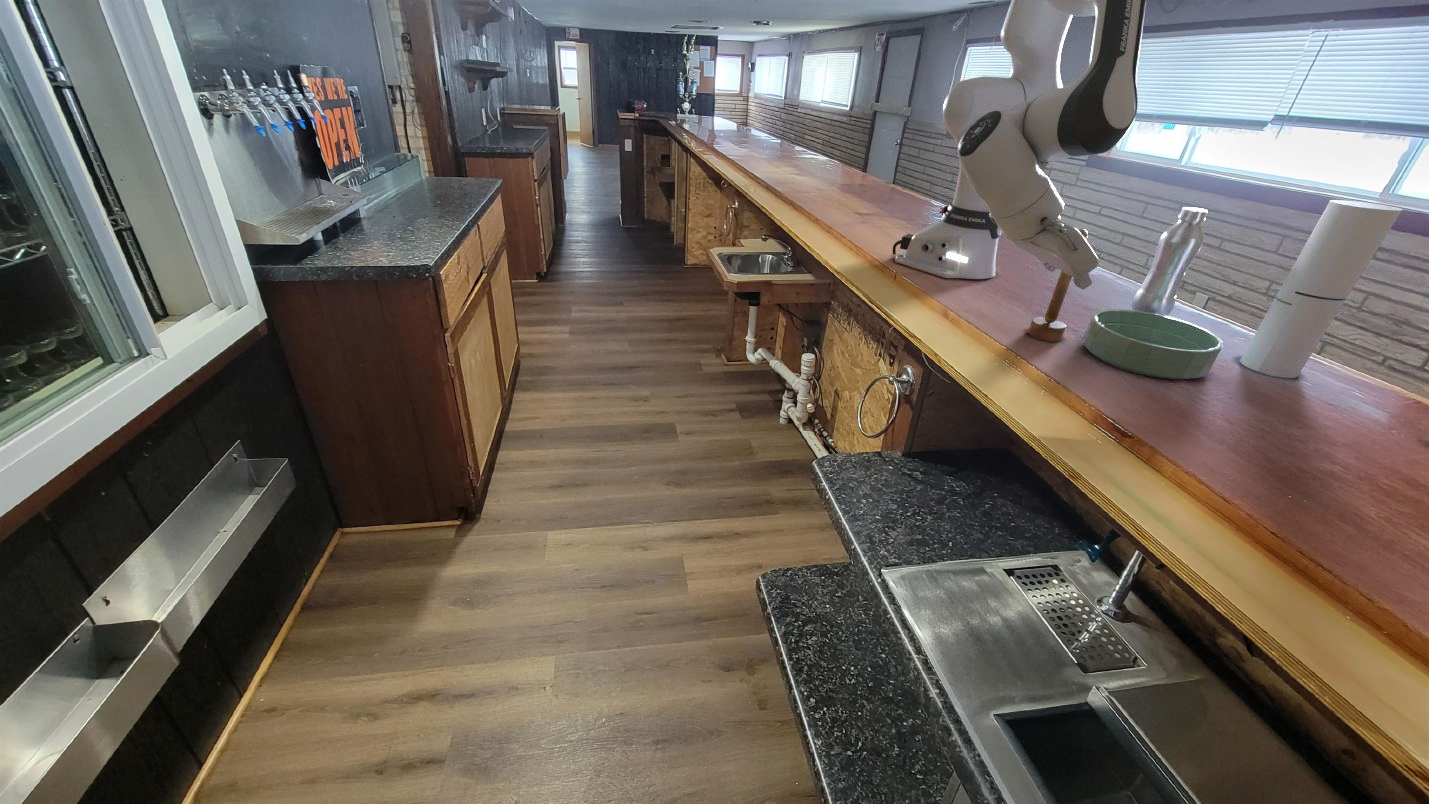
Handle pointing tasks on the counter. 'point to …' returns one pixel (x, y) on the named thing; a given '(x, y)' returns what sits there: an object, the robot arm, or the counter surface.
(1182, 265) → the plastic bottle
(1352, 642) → the counter surface
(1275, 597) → the counter surface
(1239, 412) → the counter surface
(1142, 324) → the bowl
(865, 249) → the counter surface
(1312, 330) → the cylindrical container
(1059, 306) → the brown stick
